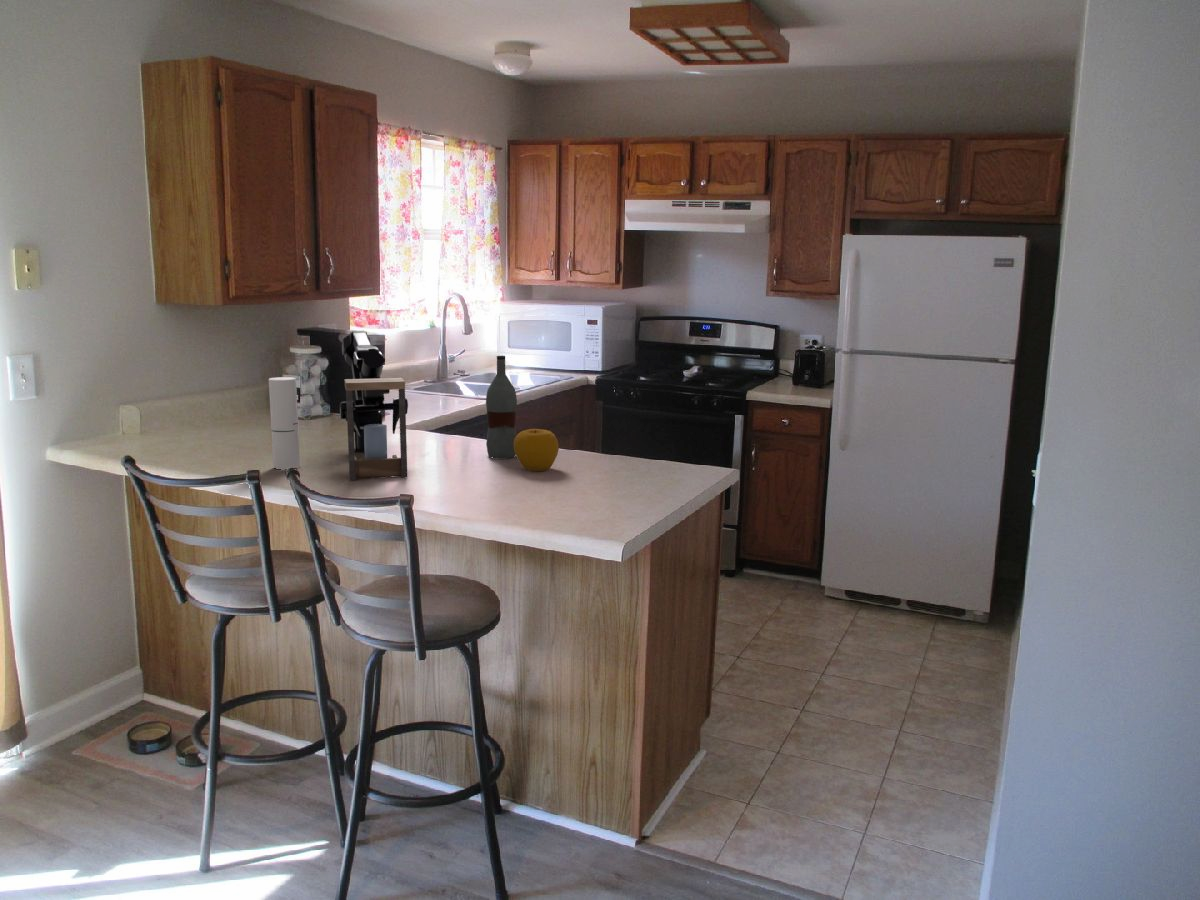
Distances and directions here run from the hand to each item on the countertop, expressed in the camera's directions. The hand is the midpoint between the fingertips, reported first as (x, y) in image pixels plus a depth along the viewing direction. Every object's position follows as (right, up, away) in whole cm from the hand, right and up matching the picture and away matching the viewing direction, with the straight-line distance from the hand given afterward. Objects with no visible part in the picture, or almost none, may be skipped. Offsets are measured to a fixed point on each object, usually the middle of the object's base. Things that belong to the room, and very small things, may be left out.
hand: (377, 434), depth 272 cm
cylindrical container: (-25, -10, -2) cm, 27 cm away
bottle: (+33, -6, +17) cm, 38 cm away
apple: (+45, -10, -1) cm, 46 cm away
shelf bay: (+2, -11, -8) cm, 13 cm away
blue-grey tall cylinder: (+2, -10, -8) cm, 13 cm away
